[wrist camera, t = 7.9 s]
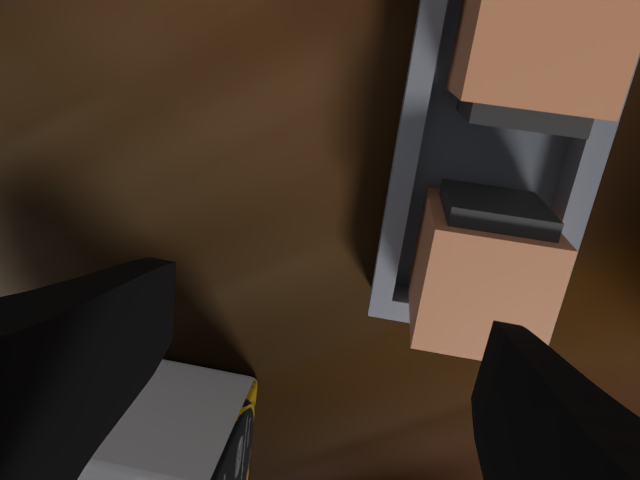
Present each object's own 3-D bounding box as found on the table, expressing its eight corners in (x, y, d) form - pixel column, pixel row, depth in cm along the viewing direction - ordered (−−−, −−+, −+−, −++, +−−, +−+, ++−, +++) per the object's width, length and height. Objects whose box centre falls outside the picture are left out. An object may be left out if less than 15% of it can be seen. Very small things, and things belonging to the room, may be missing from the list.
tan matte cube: (470, -40, 17) (496, -72, 12) (597, -26, 17) (673, -54, 12) (441, 104, 19) (456, 123, 14) (557, 120, 18) (610, 144, 14)
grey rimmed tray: (434, -86, 18) (450, -147, 12) (644, -64, 17) (764, -118, 11) (371, 288, 23) (361, 366, 17) (532, 315, 22) (577, 406, 16)
